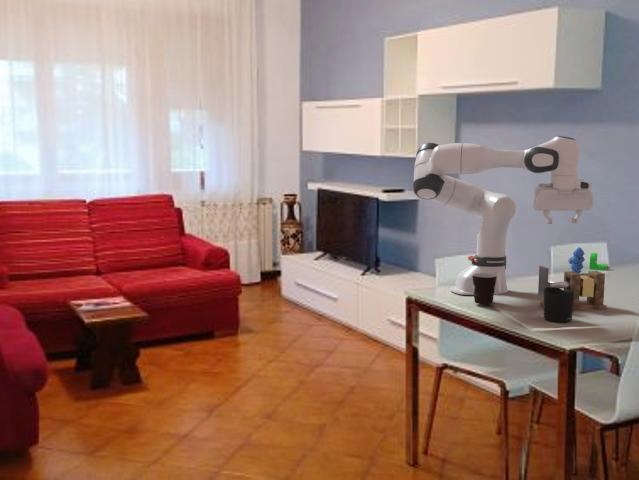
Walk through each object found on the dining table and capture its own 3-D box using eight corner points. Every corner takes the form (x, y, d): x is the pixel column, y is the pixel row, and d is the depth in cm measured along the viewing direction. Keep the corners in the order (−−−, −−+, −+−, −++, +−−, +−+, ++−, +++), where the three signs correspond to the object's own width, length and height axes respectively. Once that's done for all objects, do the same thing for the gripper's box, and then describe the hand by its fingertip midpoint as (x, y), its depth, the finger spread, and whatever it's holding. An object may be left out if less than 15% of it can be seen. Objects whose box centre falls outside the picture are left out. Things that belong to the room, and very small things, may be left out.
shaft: (543, 298, 249) (545, 268, 247) (538, 295, 254) (539, 265, 252) (597, 296, 251) (599, 267, 250) (590, 293, 256) (592, 264, 255)
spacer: (582, 297, 250) (583, 279, 249) (573, 293, 256) (574, 275, 255) (593, 296, 250) (594, 278, 249) (584, 293, 257) (585, 275, 256)
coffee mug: (491, 306, 254) (492, 278, 253) (467, 303, 259) (468, 275, 258) (501, 300, 264) (502, 273, 263) (479, 297, 269) (479, 271, 267)
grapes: (571, 271, 323) (573, 245, 321) (587, 273, 319) (588, 246, 317) (562, 275, 314) (563, 248, 312) (578, 277, 310) (579, 249, 308)
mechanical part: (603, 272, 324) (604, 254, 323) (589, 270, 327) (590, 253, 326) (608, 268, 334) (609, 251, 333) (595, 267, 337) (595, 250, 336)
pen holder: (549, 323, 230) (551, 293, 228) (538, 316, 239) (539, 287, 238) (577, 323, 231) (579, 292, 229) (565, 316, 240) (566, 286, 239)
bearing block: (552, 310, 248) (553, 275, 246) (540, 304, 256) (542, 271, 255) (606, 309, 250) (608, 274, 249) (593, 303, 259) (595, 270, 257)
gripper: (538, 184, 243) (536, 224, 245) (596, 184, 246) (593, 224, 247) (531, 183, 250) (529, 222, 252) (587, 183, 252) (585, 222, 254)
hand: (561, 223), depth 250 cm, fingers open, 8 cm apart
